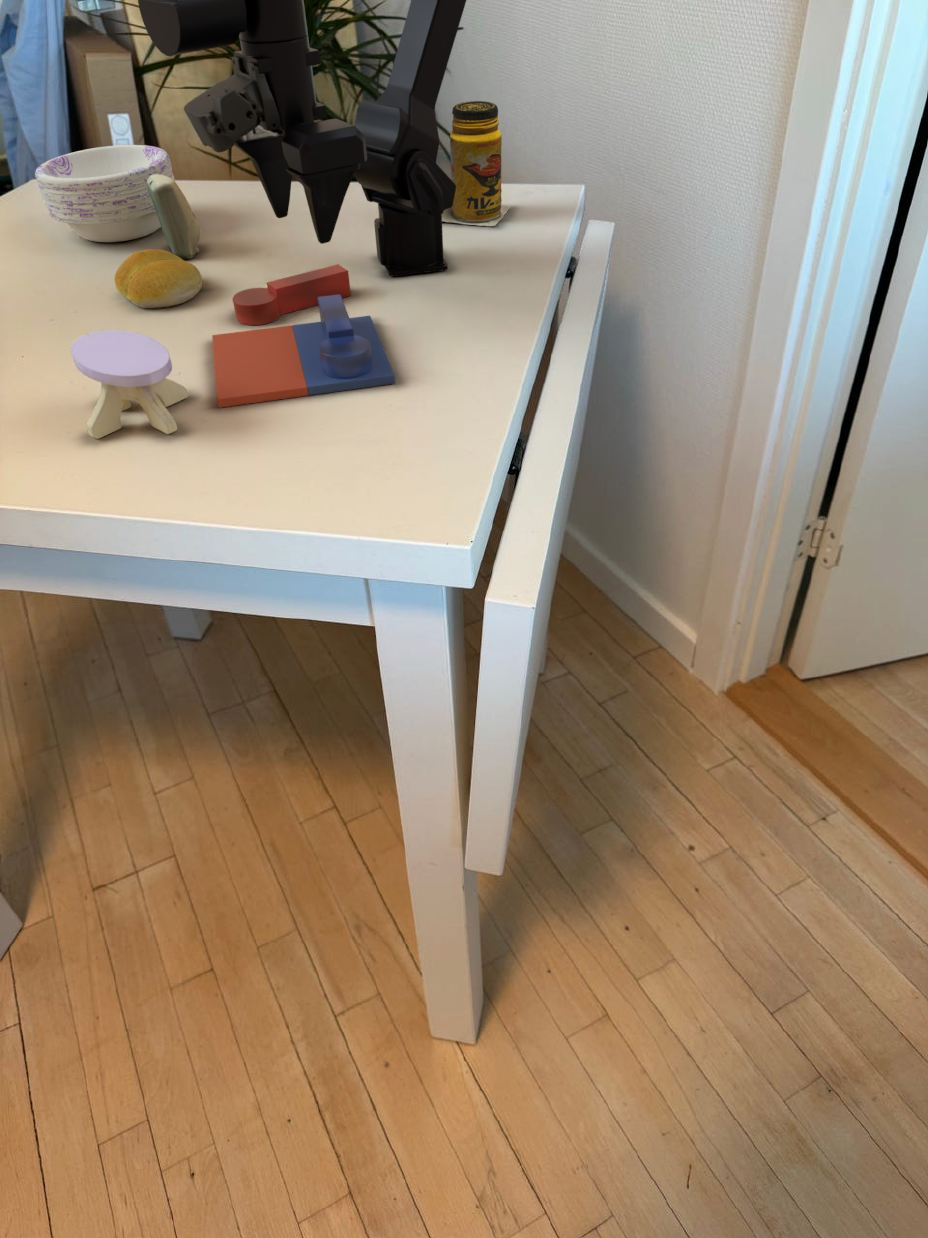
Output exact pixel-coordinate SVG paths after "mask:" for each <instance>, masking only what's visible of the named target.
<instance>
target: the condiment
mask: <svg viewBox="0 0 928 1238" xmlns="http://www.w3.org/2000/svg"><path fill="white" fill-rule="evenodd" d="M451 114H452V122H451V127H452V130H451V132H450V135H449V151H450V152H449V153H450V154H449V157H450V179H451V180H452V181H453V182H454V183H455V185H456V191H455V196H454V201H453V206H452V207H451V208H448V209H445V211H443V214H442V222H445V223H453V224H460V225H469V226H470V225H472V226H479V227H480V226H481V227H483V226H485V227H494V226H497V224H499V222H500V221H501V220H502V219H503V218H504V217H505V215H506V214H507V213H508V211H509V209H510V208H512V206H511V205H502V201H503V200H502V192H503V191H502V189H503V188H502V146H503V145H502V144H503V143H502V140H503V139H502V133H501V131H500V130H499V125H500V123H499V108H498V105H496V103H494V102H490V101H483V100H470V101H463V102H460V103H457V104H455V105H454V106H453V107H452V112H451Z"/></svg>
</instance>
